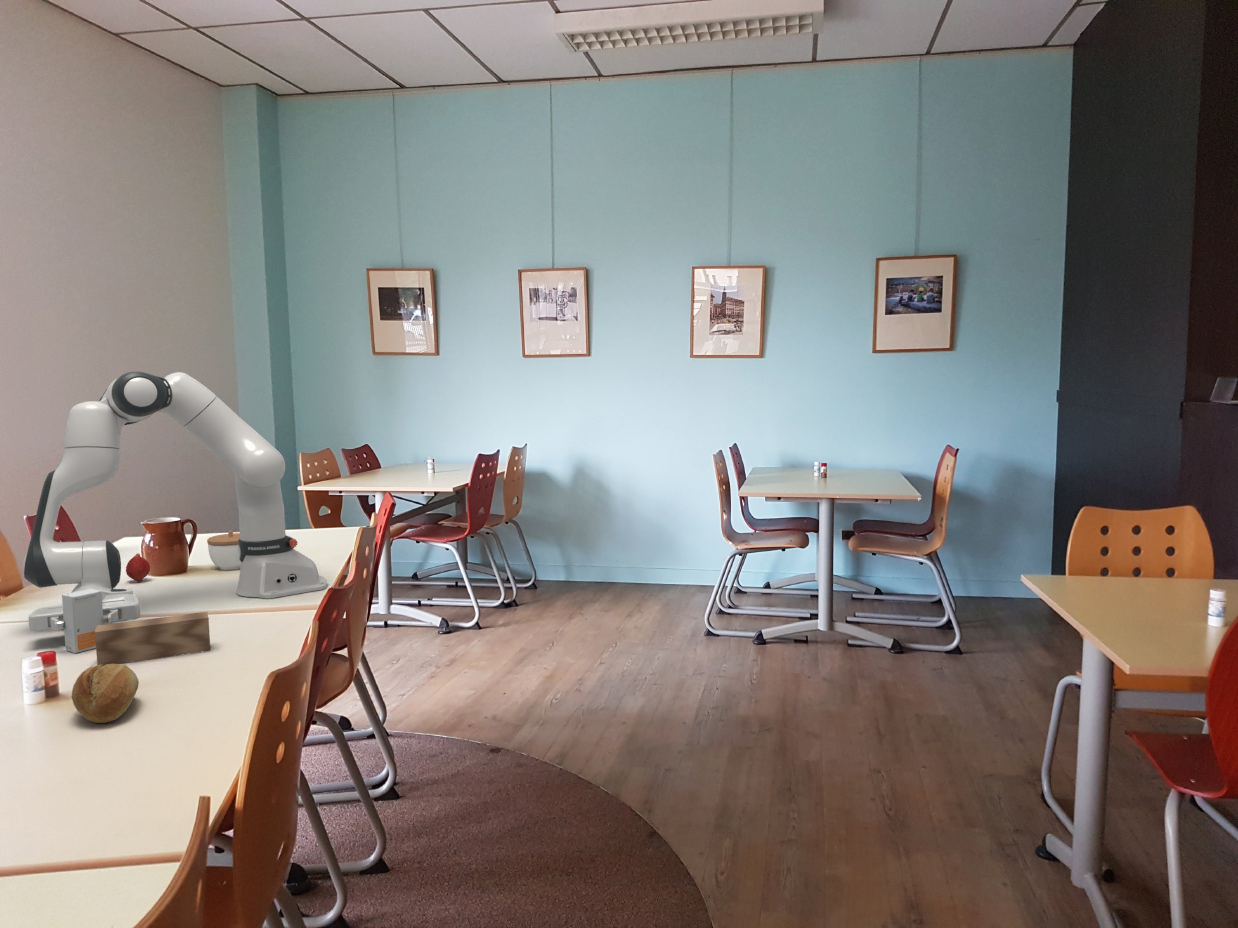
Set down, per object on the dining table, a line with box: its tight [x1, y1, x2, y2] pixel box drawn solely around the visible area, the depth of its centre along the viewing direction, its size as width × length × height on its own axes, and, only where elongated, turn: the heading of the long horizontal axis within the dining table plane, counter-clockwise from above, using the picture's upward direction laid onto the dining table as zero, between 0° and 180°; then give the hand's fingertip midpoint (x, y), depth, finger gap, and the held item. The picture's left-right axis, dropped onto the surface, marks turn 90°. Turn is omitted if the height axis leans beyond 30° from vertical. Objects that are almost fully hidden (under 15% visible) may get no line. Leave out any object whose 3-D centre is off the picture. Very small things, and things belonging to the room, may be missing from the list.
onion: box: [125, 552, 151, 583], centre depth 232 cm, size 6×6×8 cm
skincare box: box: [61, 589, 103, 654], centre depth 176 cm, size 6×4×12 cm
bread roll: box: [71, 663, 140, 724], centre depth 143 cm, size 10×15×8 cm, turn 27°
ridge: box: [95, 611, 211, 666], centre depth 171 cm, size 20×5×7 cm, turn 118°
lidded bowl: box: [206, 530, 241, 571], centre depth 249 cm, size 13×13×11 cm
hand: (83, 623), depth 175 cm, fingers closed on skincare box, 7 cm apart
